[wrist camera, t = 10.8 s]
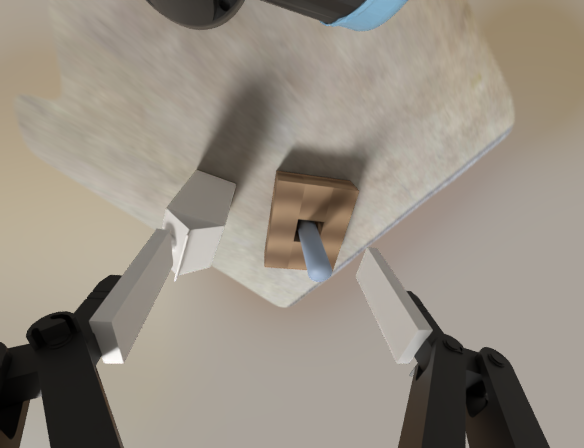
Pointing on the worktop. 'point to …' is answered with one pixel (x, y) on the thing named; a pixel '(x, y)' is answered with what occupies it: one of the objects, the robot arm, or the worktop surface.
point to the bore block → (307, 216)
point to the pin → (313, 251)
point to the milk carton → (197, 221)
